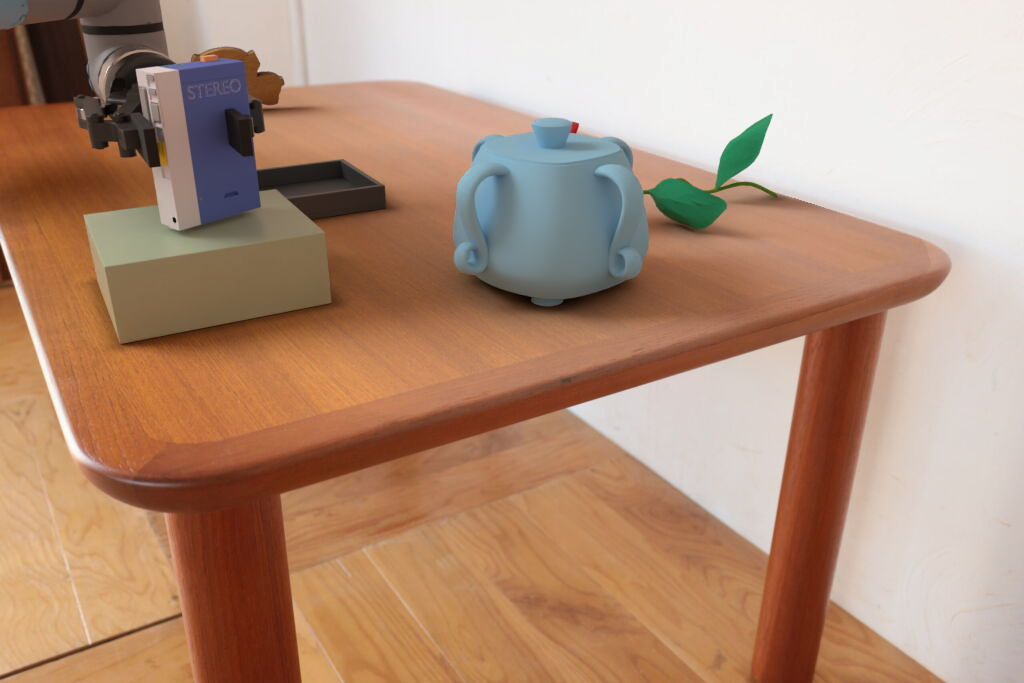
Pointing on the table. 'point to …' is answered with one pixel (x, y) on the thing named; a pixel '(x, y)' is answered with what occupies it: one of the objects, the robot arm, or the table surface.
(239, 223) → the block
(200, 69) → the walkman
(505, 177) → the decorative pot
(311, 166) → the tray
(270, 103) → the wooden carving
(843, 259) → the table surface
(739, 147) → the decorative flower
